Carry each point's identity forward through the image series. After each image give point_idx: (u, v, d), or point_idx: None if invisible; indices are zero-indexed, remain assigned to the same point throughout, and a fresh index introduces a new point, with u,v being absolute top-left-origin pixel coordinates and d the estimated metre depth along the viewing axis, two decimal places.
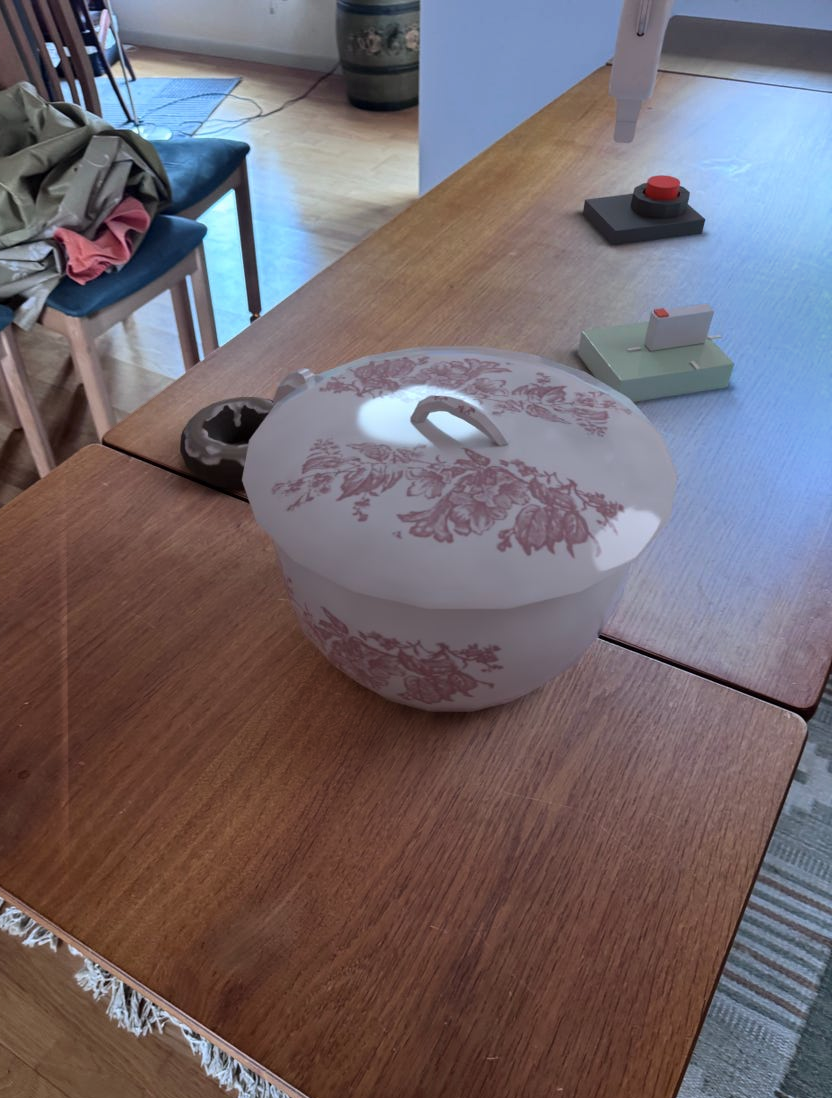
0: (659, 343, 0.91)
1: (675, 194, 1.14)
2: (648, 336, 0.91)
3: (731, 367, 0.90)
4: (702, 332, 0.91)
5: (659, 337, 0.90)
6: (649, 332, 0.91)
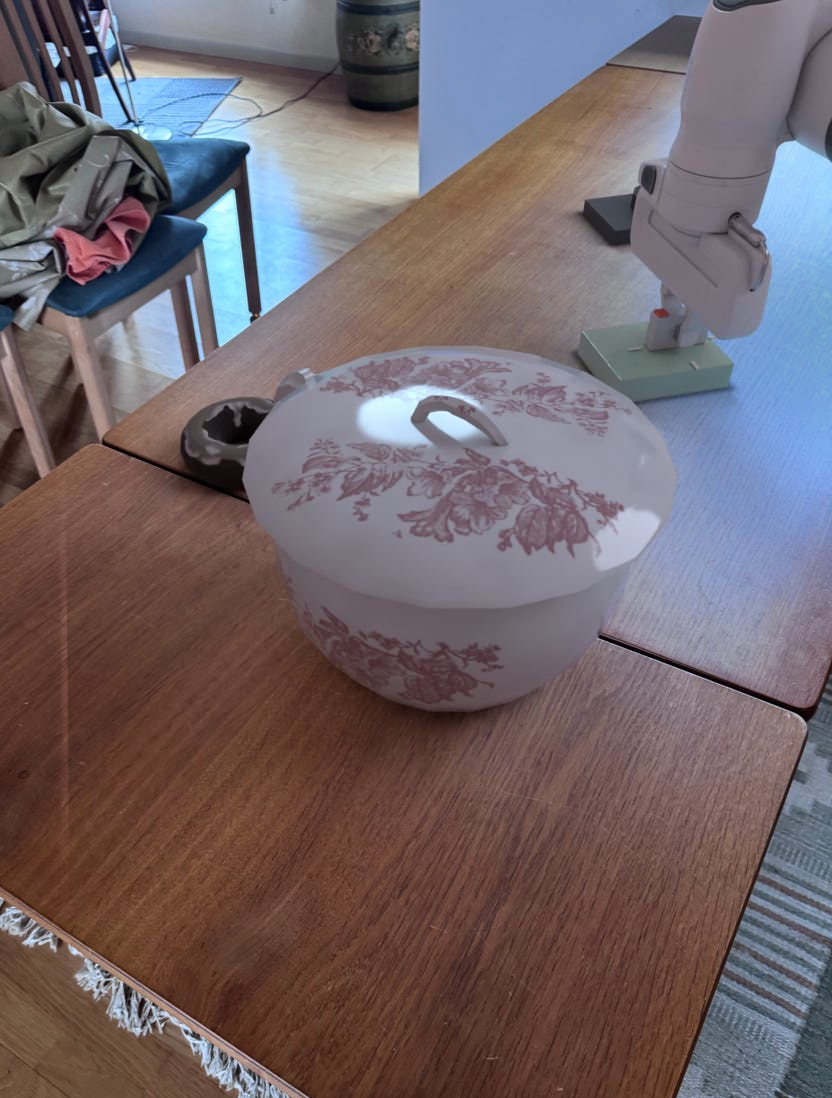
0: (659, 343, 0.91)
1: None
2: (648, 336, 0.91)
3: (731, 367, 0.90)
4: (702, 332, 0.91)
5: (659, 337, 0.90)
6: (649, 332, 0.91)
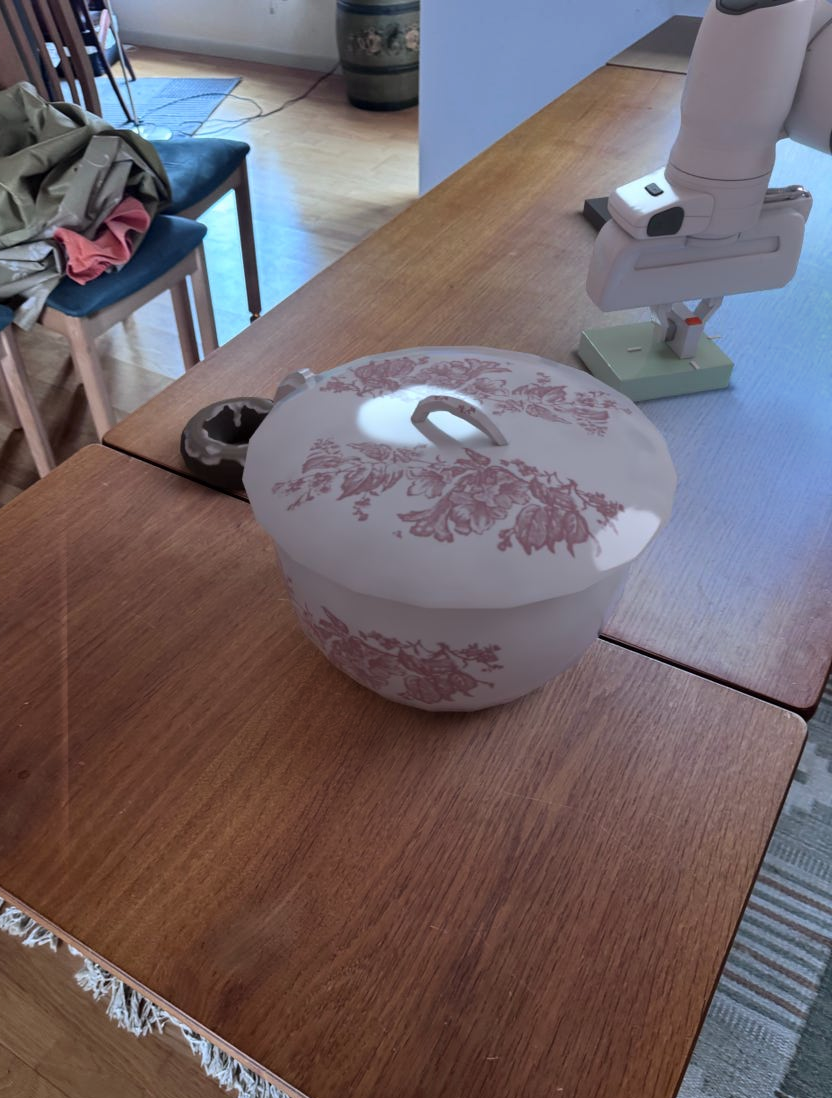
0: None
1: None
2: (688, 348, 0.89)
3: (731, 367, 0.90)
4: None
5: None
6: (690, 344, 0.89)
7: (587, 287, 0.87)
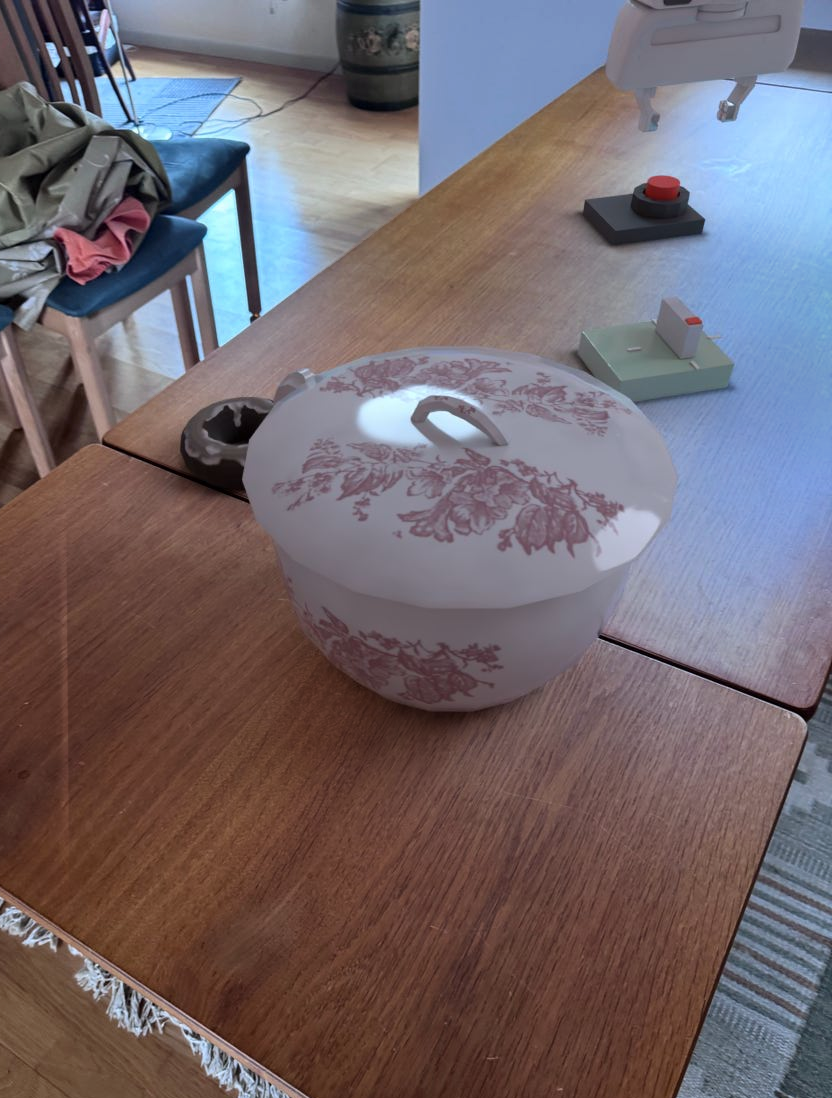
0: None
1: (675, 194, 1.14)
2: (688, 348, 0.89)
3: (731, 367, 0.90)
4: None
5: None
6: (690, 344, 0.89)
7: (607, 69, 0.95)
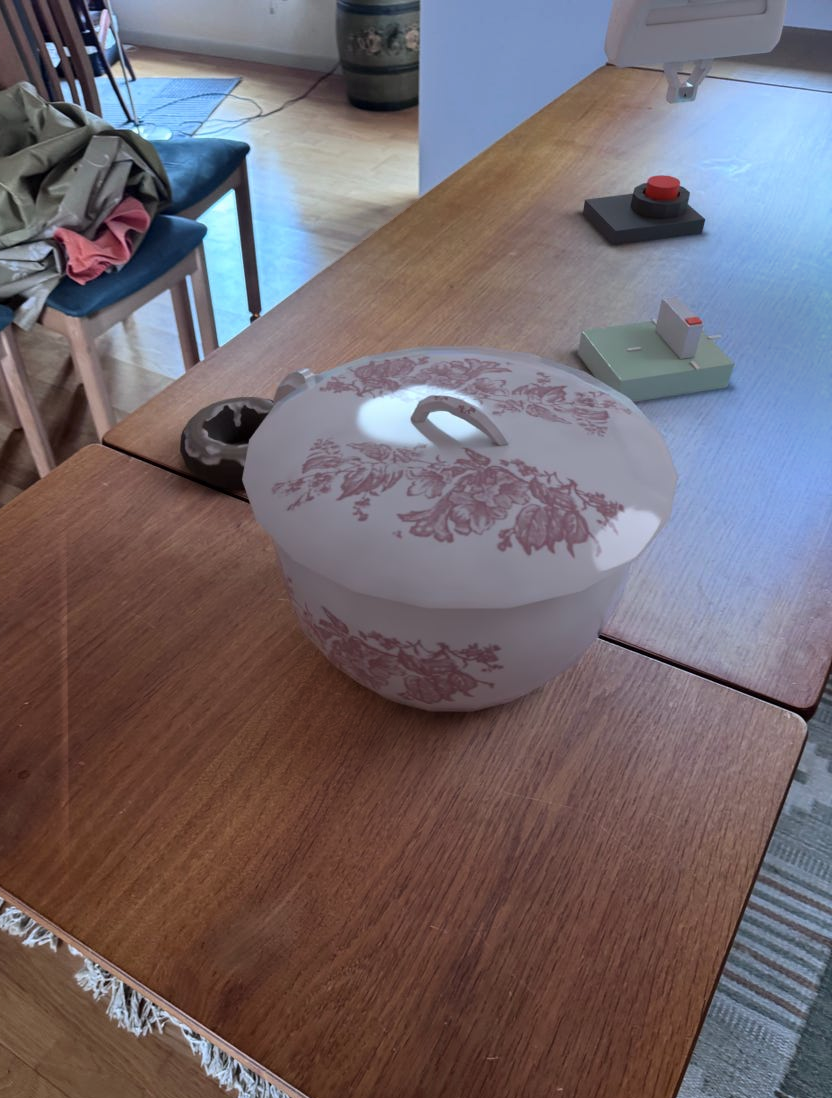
0: None
1: (675, 194, 1.14)
2: (688, 348, 0.89)
3: (731, 367, 0.90)
4: None
5: None
6: (690, 344, 0.89)
7: (605, 48, 1.03)
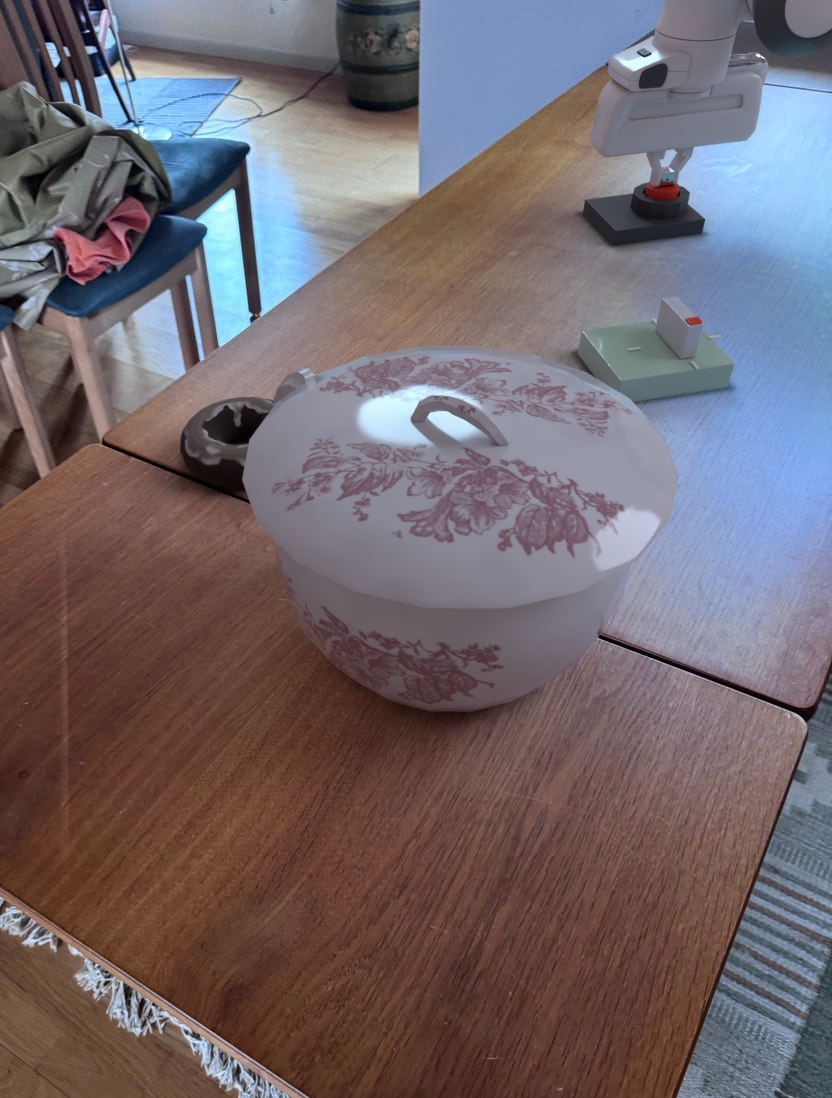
0: None
1: (674, 198, 1.14)
2: (688, 348, 0.89)
3: (731, 367, 0.90)
4: None
5: None
6: (690, 344, 0.89)
7: (592, 138, 1.10)
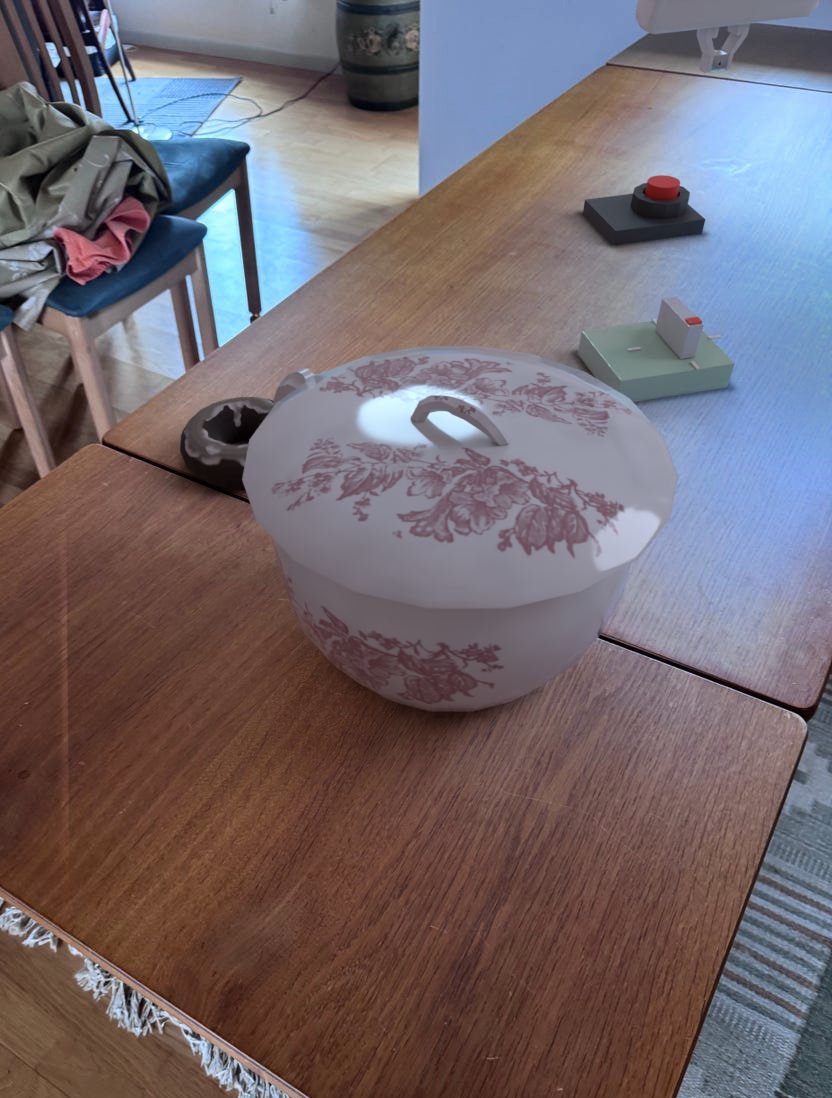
0: None
1: (675, 194, 1.14)
2: (688, 348, 0.89)
3: (731, 367, 0.90)
4: None
5: None
6: (690, 344, 0.89)
7: (637, 14, 0.99)
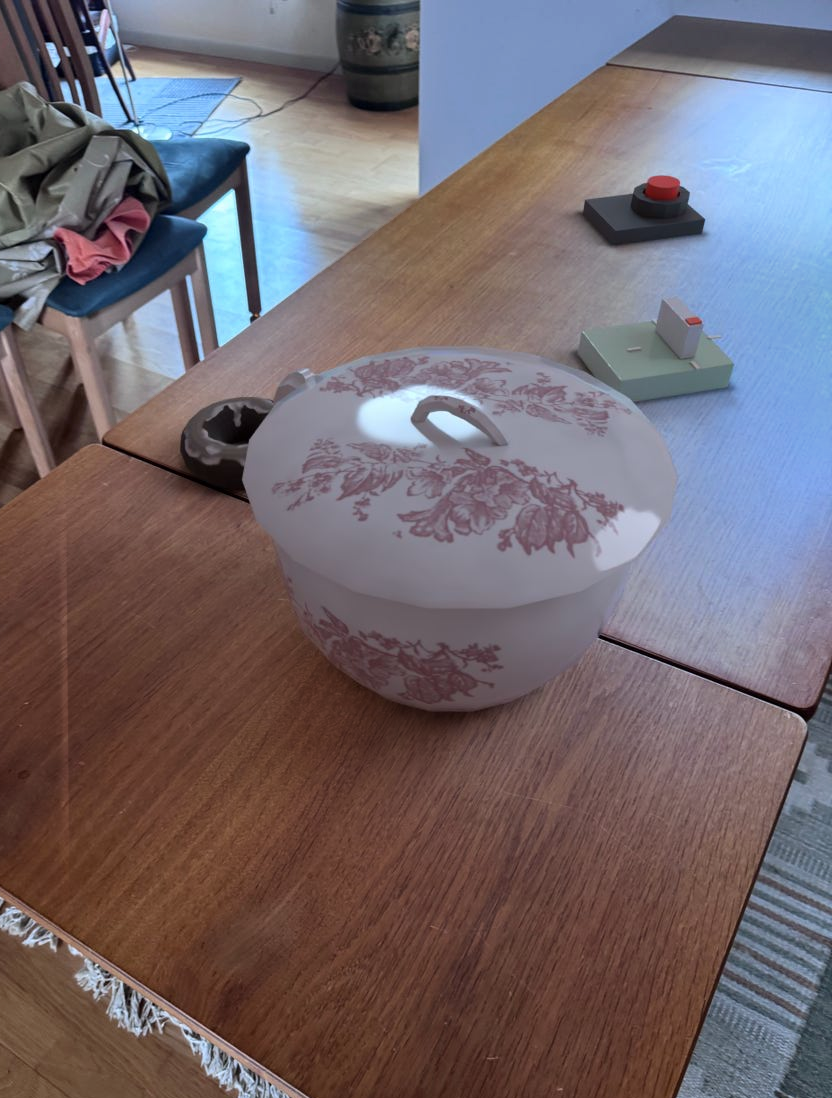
0: None
1: (675, 194, 1.14)
2: (688, 348, 0.89)
3: (731, 367, 0.90)
4: None
5: None
6: (690, 344, 0.89)
7: None
